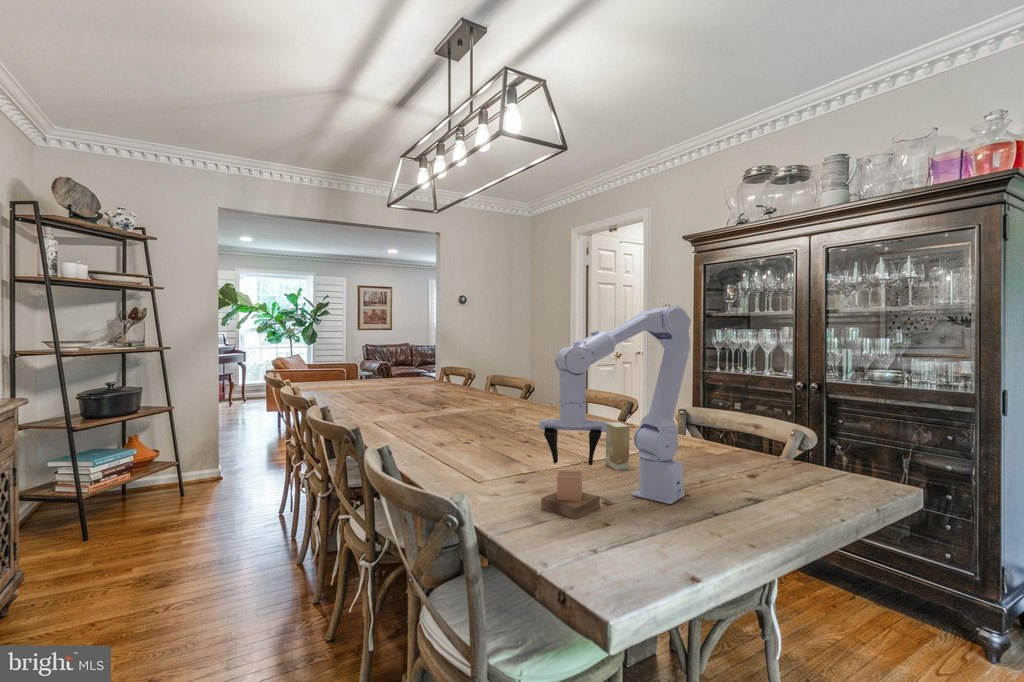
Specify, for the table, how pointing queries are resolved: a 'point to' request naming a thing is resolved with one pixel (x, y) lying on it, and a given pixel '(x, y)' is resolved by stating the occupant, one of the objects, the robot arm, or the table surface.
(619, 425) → the skincare box
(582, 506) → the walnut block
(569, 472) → the terracotta cube
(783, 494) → the table surface
